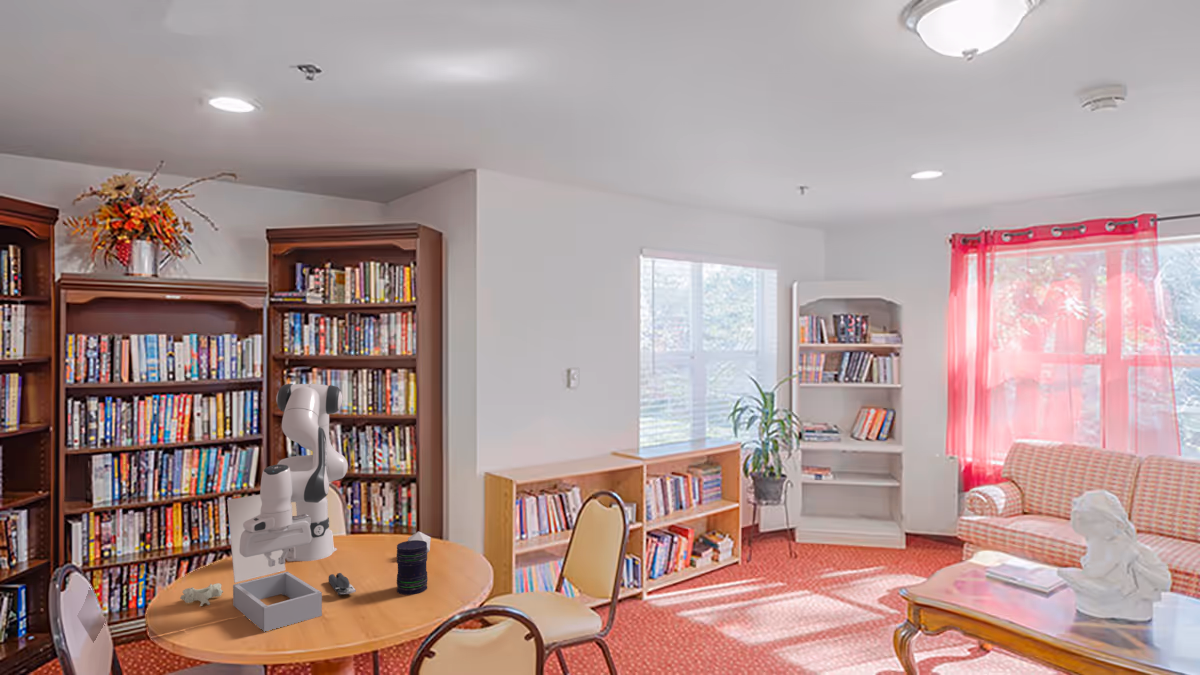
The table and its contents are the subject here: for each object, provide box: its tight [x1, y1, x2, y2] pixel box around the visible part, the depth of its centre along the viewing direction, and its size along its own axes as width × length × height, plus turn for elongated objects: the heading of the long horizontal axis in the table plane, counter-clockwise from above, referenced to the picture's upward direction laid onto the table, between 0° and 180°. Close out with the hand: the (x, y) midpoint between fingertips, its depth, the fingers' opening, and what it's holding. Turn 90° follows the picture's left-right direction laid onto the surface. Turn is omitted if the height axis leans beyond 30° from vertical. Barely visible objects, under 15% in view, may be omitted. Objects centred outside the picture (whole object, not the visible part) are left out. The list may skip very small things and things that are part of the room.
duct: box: [232, 571, 323, 633], centre depth 207 cm, size 26×16×7 cm, turn 46°
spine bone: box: [179, 582, 224, 607], centre depth 214 cm, size 12×10×5 cm
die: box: [407, 531, 432, 553], centre depth 257 cm, size 8×9×10 cm
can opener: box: [328, 572, 357, 596], centre depth 225 cm, size 19×5×6 cm, turn 34°
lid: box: [226, 494, 286, 584], centre depth 219 cm, size 26×15×1 cm
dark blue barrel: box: [396, 540, 428, 596], centre depth 224 cm, size 10×10×15 cm
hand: (276, 564), depth 207 cm, fingers closed
